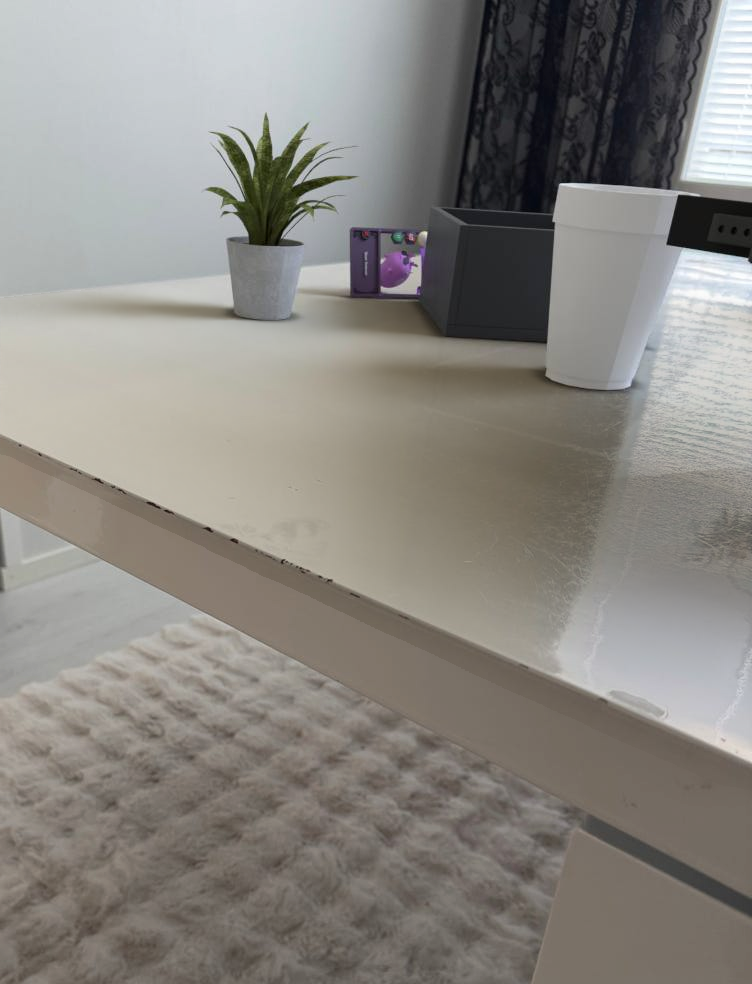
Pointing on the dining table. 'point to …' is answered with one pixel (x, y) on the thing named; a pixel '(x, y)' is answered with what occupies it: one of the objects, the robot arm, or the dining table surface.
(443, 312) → the dark grey open box
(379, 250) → the purple cardboard box
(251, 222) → the house plant
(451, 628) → the dining table surface
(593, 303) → the white flower pot
